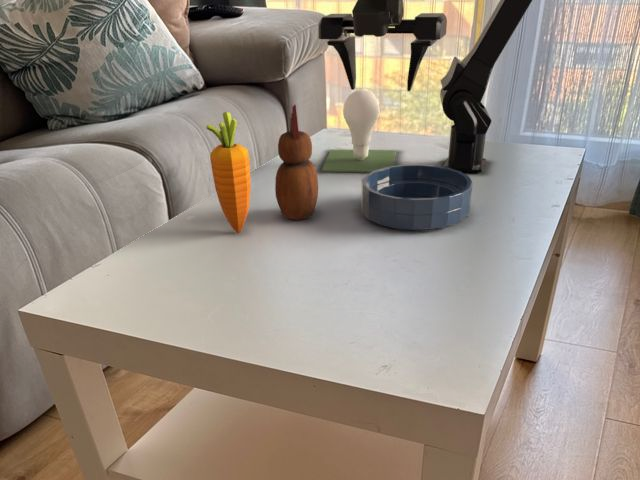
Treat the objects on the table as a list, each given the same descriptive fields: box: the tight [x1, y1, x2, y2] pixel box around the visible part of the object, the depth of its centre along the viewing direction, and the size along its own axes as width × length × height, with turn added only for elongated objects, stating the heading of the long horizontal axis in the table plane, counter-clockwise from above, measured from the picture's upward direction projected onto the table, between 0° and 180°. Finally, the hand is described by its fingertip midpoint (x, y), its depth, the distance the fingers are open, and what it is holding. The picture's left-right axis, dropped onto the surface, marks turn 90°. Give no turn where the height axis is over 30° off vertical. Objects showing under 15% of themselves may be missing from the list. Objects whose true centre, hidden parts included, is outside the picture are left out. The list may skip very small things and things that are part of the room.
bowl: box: [360, 163, 473, 230], centre depth 90 cm, size 15×15×4 cm
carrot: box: [205, 111, 252, 234], centre depth 83 cm, size 5×5×15 cm
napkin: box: [321, 149, 397, 174], centre depth 111 cm, size 12×12×1 cm
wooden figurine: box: [274, 104, 319, 221], centre depth 87 cm, size 7×6×15 cm
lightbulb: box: [342, 89, 381, 160], centre depth 107 cm, size 6×6×11 cm
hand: (380, 90), depth 101 cm, fingers open, 9 cm apart
